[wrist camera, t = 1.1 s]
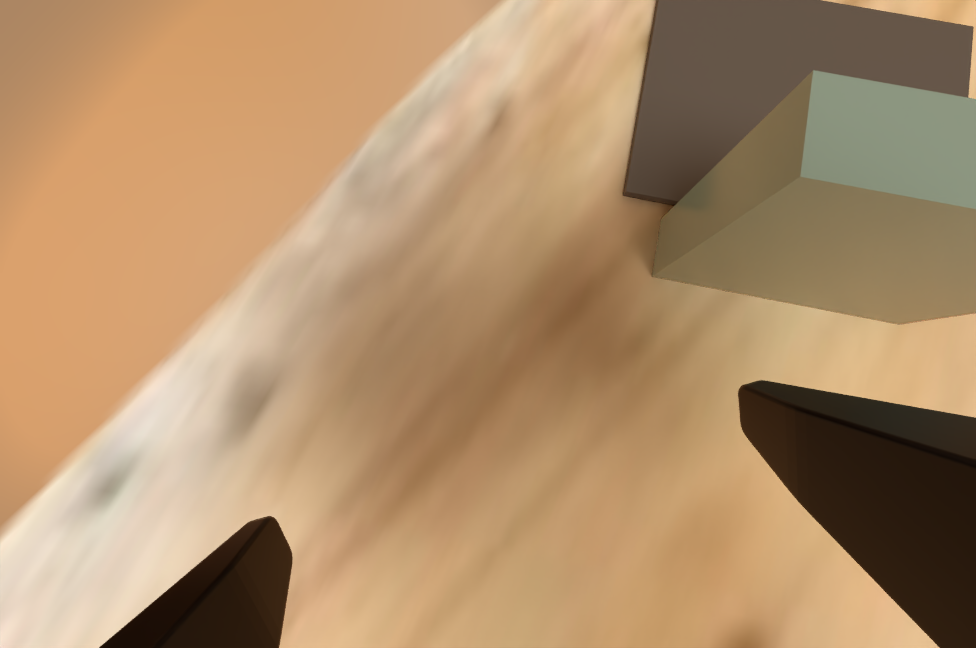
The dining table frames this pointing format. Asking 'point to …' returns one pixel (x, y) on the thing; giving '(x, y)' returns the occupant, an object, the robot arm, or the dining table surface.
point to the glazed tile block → (839, 205)
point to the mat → (766, 74)
